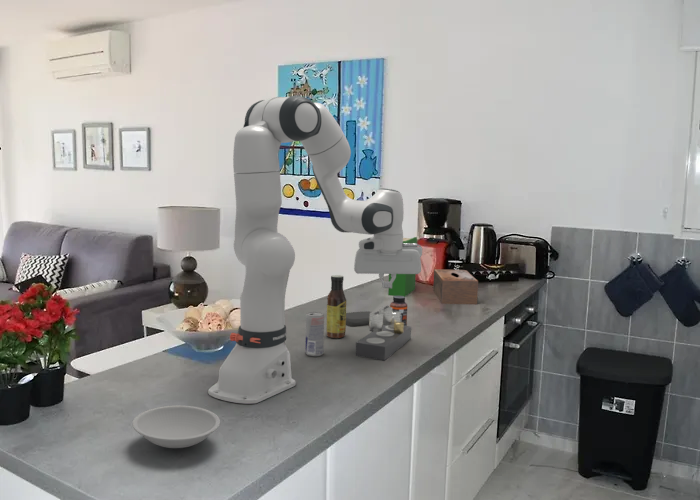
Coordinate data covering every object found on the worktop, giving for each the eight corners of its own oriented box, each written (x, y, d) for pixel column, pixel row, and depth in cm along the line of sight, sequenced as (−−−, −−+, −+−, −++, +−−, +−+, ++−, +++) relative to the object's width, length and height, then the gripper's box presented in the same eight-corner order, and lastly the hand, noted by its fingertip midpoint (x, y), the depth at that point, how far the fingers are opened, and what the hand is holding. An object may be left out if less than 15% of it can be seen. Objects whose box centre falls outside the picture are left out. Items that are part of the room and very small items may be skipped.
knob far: (397, 329, 182) (398, 313, 181) (385, 327, 183) (386, 311, 183) (401, 326, 185) (402, 310, 185) (390, 324, 187) (390, 309, 186)
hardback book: (399, 287, 266) (401, 236, 263) (415, 289, 264) (417, 237, 260) (388, 295, 250) (390, 240, 246) (404, 297, 247) (406, 241, 244)
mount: (384, 360, 165) (385, 346, 164) (355, 355, 169) (356, 341, 168) (410, 338, 187) (411, 326, 186) (384, 334, 190) (385, 322, 190)
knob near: (379, 332, 167) (380, 315, 166) (366, 330, 168) (367, 313, 168) (384, 329, 170) (385, 312, 170) (372, 327, 172) (372, 310, 171)
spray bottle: (335, 321, 208) (392, 315, 220) (350, 328, 198) (409, 321, 210) (336, 313, 207) (392, 307, 219) (351, 320, 198) (409, 314, 210)
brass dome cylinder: (401, 334, 178) (401, 324, 177) (392, 332, 179) (392, 323, 178) (404, 331, 180) (404, 322, 180) (395, 330, 182) (395, 321, 181)
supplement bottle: (405, 331, 194) (406, 299, 193) (388, 330, 196) (389, 297, 194) (407, 327, 200) (408, 295, 199) (390, 325, 201) (391, 294, 200)
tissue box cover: (476, 305, 237) (478, 281, 235) (441, 304, 237) (442, 280, 235) (464, 291, 262) (466, 270, 261) (433, 290, 262) (434, 269, 261)
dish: (114, 451, 110) (113, 426, 109) (168, 421, 123) (167, 399, 122) (187, 473, 103) (187, 447, 102) (236, 440, 115) (236, 416, 115)
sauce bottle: (343, 339, 184) (344, 278, 181) (324, 338, 185) (325, 277, 182) (347, 334, 190) (348, 274, 187) (329, 332, 191) (330, 273, 189)
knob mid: (389, 326, 174) (389, 309, 173) (376, 324, 176) (377, 307, 175) (393, 323, 178) (394, 306, 177) (381, 321, 179) (382, 304, 179)
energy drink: (315, 349, 173) (315, 310, 172) (327, 354, 170) (328, 314, 168) (301, 353, 170) (302, 313, 168) (313, 357, 166) (314, 317, 164)
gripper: (421, 241, 177) (419, 286, 179) (354, 241, 176) (353, 285, 178) (424, 244, 170) (422, 290, 172) (354, 244, 170) (354, 290, 172)
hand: (387, 288), depth 175 cm, fingers closed
